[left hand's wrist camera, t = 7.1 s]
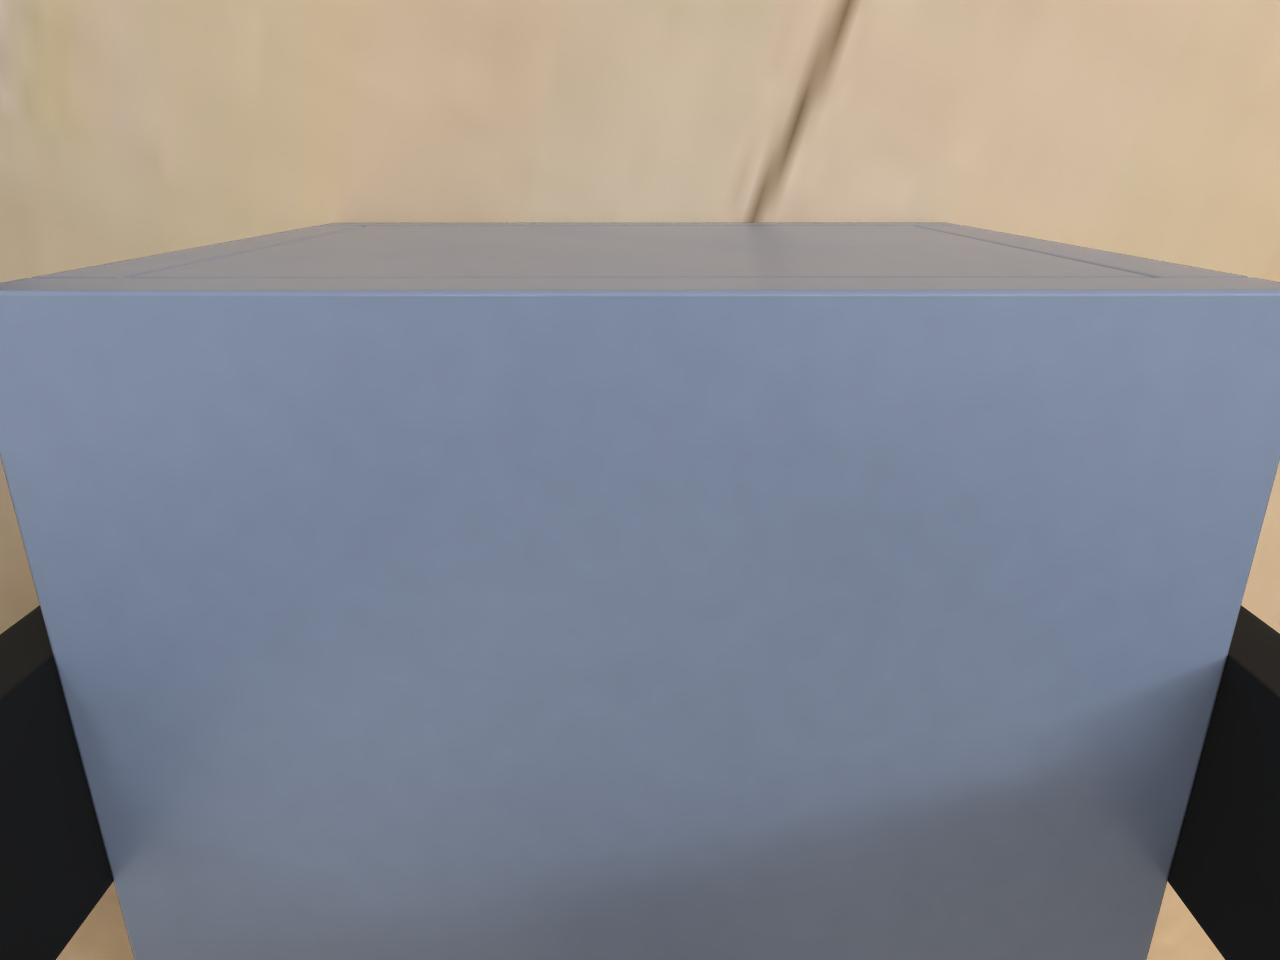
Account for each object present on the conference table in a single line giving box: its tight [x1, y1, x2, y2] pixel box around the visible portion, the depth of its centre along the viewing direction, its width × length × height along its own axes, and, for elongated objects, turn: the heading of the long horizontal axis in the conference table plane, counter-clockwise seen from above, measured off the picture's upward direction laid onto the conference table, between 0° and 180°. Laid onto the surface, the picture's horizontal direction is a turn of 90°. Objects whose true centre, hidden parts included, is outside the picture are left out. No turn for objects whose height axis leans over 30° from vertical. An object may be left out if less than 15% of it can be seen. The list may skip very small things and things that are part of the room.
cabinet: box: [0, 223, 1280, 960], centre depth 14 cm, size 17×11×9 cm, turn 0°
